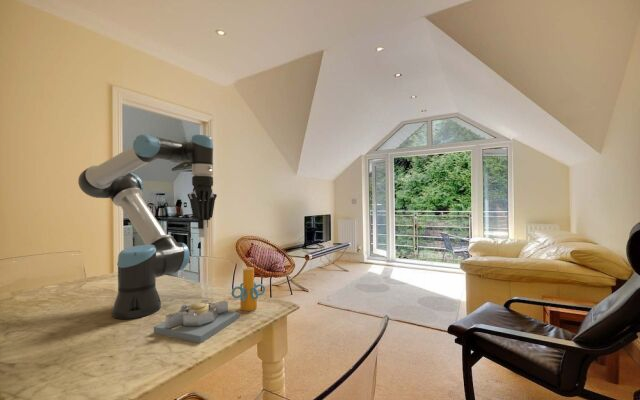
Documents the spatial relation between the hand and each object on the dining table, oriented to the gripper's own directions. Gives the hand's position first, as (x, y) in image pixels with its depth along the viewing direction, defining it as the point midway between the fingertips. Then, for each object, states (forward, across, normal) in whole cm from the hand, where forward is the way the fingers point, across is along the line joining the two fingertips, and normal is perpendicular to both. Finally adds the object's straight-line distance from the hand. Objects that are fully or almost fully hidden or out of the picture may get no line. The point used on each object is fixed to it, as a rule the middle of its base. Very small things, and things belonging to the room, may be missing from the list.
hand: (203, 236), depth 111 cm
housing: (+27, -14, -12) cm, 32 cm away
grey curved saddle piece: (+24, -15, -12) cm, 31 cm away
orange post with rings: (+27, +4, -18) cm, 33 cm away
